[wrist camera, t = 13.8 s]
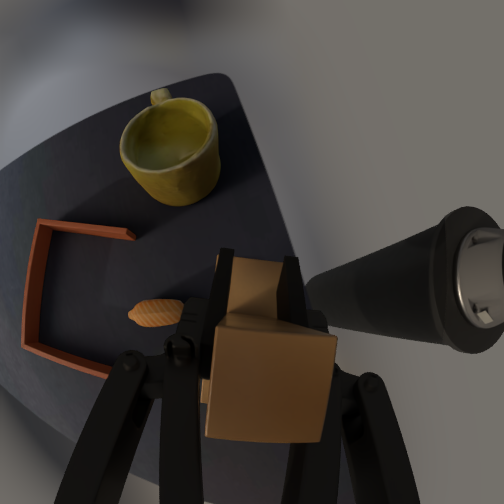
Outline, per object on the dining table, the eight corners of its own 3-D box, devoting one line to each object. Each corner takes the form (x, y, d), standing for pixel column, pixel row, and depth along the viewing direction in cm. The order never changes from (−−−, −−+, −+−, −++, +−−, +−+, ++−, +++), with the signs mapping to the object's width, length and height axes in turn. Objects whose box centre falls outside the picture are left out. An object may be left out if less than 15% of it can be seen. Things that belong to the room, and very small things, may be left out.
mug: (243, 207, 28) (202, 143, 19) (156, 228, 30) (96, 182, 21) (237, 123, 32) (206, 62, 23) (164, 147, 35) (123, 97, 26)
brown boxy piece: (219, 262, 22) (192, 166, 7) (284, 270, 22) (384, 197, 7) (205, 388, 20) (160, 522, 5) (269, 395, 20) (330, 528, 5)
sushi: (192, 321, 27) (187, 323, 25) (133, 327, 27) (122, 329, 24) (188, 295, 28) (183, 294, 25) (130, 302, 27) (119, 301, 24)
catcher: (136, 235, 29) (127, 228, 26) (120, 373, 26) (109, 380, 23) (50, 225, 28) (37, 218, 25) (35, 345, 25) (21, 347, 22)
